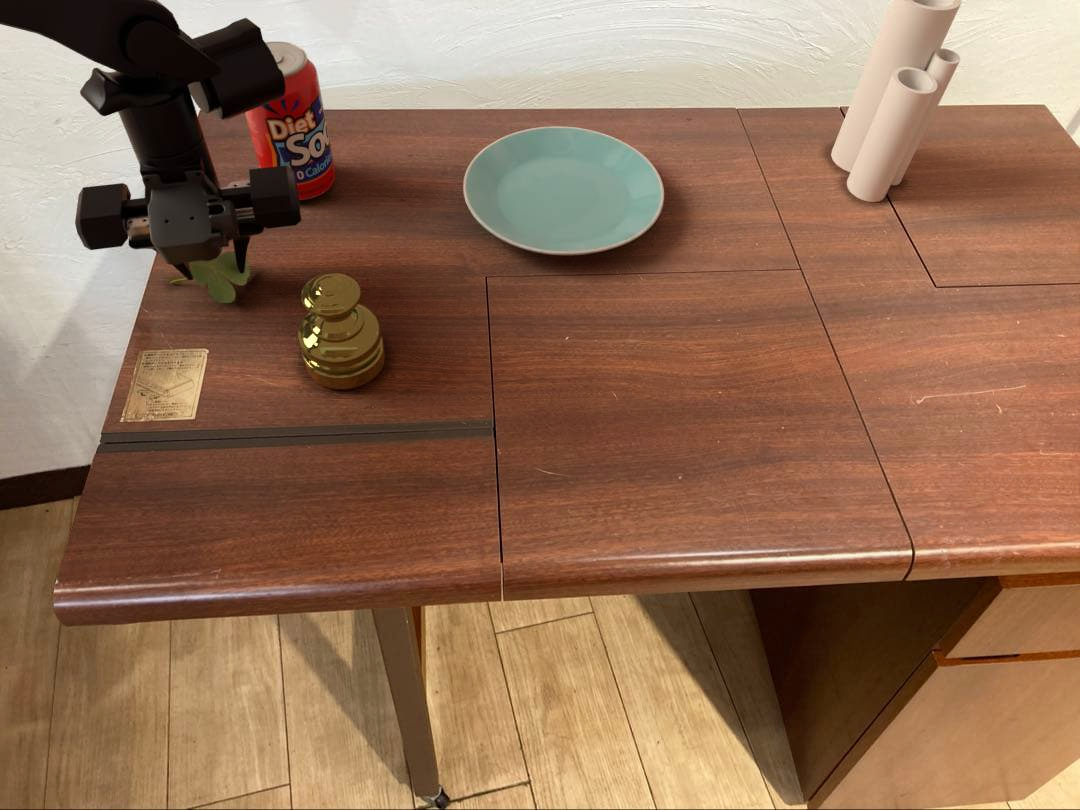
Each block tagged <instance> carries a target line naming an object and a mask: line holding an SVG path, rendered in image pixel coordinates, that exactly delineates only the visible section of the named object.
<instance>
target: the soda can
mask: <svg viewBox="0 0 1080 810" xmlns="http://www.w3.org/2000/svg"><path fill="white" fill-rule="evenodd" d="M264 42H265V43H266V45H267V46H268V47H269V49H270V51H271V53H272V54H273V56H274V58H275V60H276V63H277V65H278V67H279V69H280V70H281V71H282V72H283V76H284V80H285V94H284V96H283V97H282V98H280V99H277V100H275V101H272V102H270V103H267V104H265V105H263V106H260V107H258V108H255V109H253V110H250V111H248V112H245V113H244V114H245V115H244V116H245V119H246V122H247V125H248V130H249V133H250V138H251V141H252V143H253V144H252V145H253V148H254V151H255V155H256V160H257V162H258V163H257V164H258V166H259V168H268V167H277V166H287V167H289V168H290V169H291V170H292V171H294V174H295V178H296V182H297V187H298V195H299V201H306V200H310V199H313V198H316V197H319V196H320V195H323V194H324V193H326V192H327V191H328V190H329V189H330V188H332V186H333V184H334V182H335V181H336V167H335V162H334V156H333V152H332V146H331V140H330V135H329V129H328V123H327V117H326V112H325V107H324V103H323V102H324V101H323V95H322V91H321V86H320V80H319V75H318V70H317V68H316V66H315V64H314V63H313V62H312V61H311V60H310V59H309V58H308V54H307V53H306V51H305V49H303V48H302V47H300V46H299V45H297V44H295V43H291V42H289V41H264Z"/></svg>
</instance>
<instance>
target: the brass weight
mask: <svg viewBox="0 0 1080 810" xmlns="http://www.w3.org/2000/svg"><path fill="white" fill-rule="evenodd" d="M300 296H301V297H300V298H301V299H300V300H301V304H302V305H303V307H304V309H305V310H306V311H308V312H306V314H305V315H304V316H303V317H302V319H301V320H300V322H299V324H298V327H297V329H296V330H297V331H296V339H297V340H296V341H297V343H298V346H299V348H300V349H301V350H300V352H301V353H300V354H301V357H302V360H303V362H304V366H305V368H306V371H307V373H308V375H309V377H310V378H311V379H312V380H313V381H314V382H316V383H317V384H319V385H321V386H323V387H326V388H328V389H333V390H350V389H351V390H352V389H356V388H359V387H361V386H363V385H366V384H368V383H369V382H371V381H372V380H373V379H375V378H376V377H377V376H378V374H380V372H381V371H382V369H383V367H384V364H385V360H386V354H385V347H384V345H385V343H384V342H385V341H384V337H383V334H382V325H381V320H380V319H379V317H378V316H377V314H376V313H375V312H374V311H373V310H372V309H371V308H370V307H368V306H367V305H365V304H362V303H360V301H361V298H362V290H361V287H360V285H359V283H358V282H357V280H356V279H354V278H353V277H351V276H350V275H347V274H346V273H345V274H344V273H340V272H327V273H322V274H319V275H316V276H313V278H311V279H310V280H309V281H307V282H306V283H305V284H304V286H303V287H302V290H301V293H300Z"/></svg>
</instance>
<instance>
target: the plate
mask: <svg viewBox="0 0 1080 810" xmlns="http://www.w3.org/2000/svg"><path fill="white" fill-rule="evenodd" d="M664 187H665V186H664V183H663V180H662V177H661V176H660V174H659V171H658V170H657V168H656V167H655V165H654V164H653V163H652V162H651V161H650V160H649V159H648V158H647V157H646V155H645V154H643V153H642V152H641V151H640V150H638V149H636V148H635V147H634V146H633V145H630V144H628V143H626V142H625V141H623V140H621V139H618V138H616V137H613V136H611V135H609V134H606V133H602V132H601V131H600V132H599V131H596V130H592V129H587V128H582V127H577V126H576V127H575V126H561V125H560V126H559V125H558V126H555V125H554V126H553V125H552V126H551V125H550V126H540V127H539V126H538V127H533V128H528V129H523V130H519V131H516V132H513V133H510V134H507V135H505V136H503V137H501V138H499V139H497V140H495V141H493V142H492V143H490V144H488V145H487V146H485V147H484V148H483V149H481V150H480V151H479V152H478V153H477V154H476V155H475V156H474V157H473V159H472V160H471V162H470V163H469V164H468V166H467V169H466V170H465V173H464V177H463V183H462V192H463V197H464V201H465V204H466V205H467V208H468V210H469V212H470V214H471V216H473V218H474V219H475V220H476V222H477V223H478V224H479V225H480V226H481V227H482V228H483V229H484V230H486V231H487V232H488V233H490V234H491V235H492V236H494V237H495V238H497V239H499V240H500V241H502V242H504V243H506V244H509V245H510V246H513V247H516V248H519V249H522V250H525V251H529V252H532V253H537V254H543V255H549V256H581V255H582V256H583V255H591V254H596V253H601V252H605V251H609V250H613V249H615V248H619V247H621V246H624V245H626V244H629V243H631V242H632V241H634V240H636V239H638V238H639V237H641V236H642V235H644V234H645V233H646V232H647V231H649V230H650V229H651V228H652V227H653V225H654V224H655V223H656V221H657V220H658V218H659V217H660V215H661V213H662V211H663V207H664V203H665V189H664Z"/></svg>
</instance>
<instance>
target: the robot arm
mask: <svg viewBox="0 0 1080 810" xmlns="http://www.w3.org/2000/svg"><path fill="white" fill-rule="evenodd" d="M0 25H2V26H6V27H10V28H14V29H17V30H22V31H25V32H30V33H32V34H33V33H34V34H37V35H40V36H42V37H43V38H47V39H49V40H51V41H53V42H56V43H58V44H60V45H62V46H64V47H65V48H66V49H69V50H71V51H73V52H75V53H76V54H78V55H80V56H82V57H85V58H86V59H88V60H90V61H92V62H95V63H96V64H99V65H102V66H103V67H106V68H109V69H110V70H113V71H109V72H108V71H104V70H102V69H100V68H99V67H94V68H93V69H92V71H91V75H90V77H89V78H88V79H87V80H86V81H85V83H84V84H83V86H82V87H81V88H80V90H79V95H80V97H82V98H83V99H84V100H85V101H86V102H87V103H88V104H89V105H90V106H91V107H92V108H93V109H94V110H95V111H96V112H97V113H98V114H99V115H100V116H102V117H107V116H111V115H113V114H115V113H118V115H119V117H120V120H121V122H122V125H123V127H124V129H125V132H126V135H127V138H128V140H129V142H130V144H131V147H132V149H133V152H134V155H135V157H136V160H137V162H138V164H139V173H140V175H141V181H142V183H143V185H144V197H141V198H132V193H131V191H130V189H129V186H128V184H126V183H124V182H119V183H112V184H102V185H101V184H100V185H91V186H83V187H82V188H81V190H80V191H79V194H78V197H77V205H76V213H75V219H74V224H75V230H76V233H77V235H78V237H79V239H80V241H81V243H82V245H83V247H84V248H86V249H88V250H90V251H95V250H103V249H111V248H121V247H123V246H124V244H125V243H126V242H127V241H128V246H129V248H131V249H133V250H153V251H154V252H156V253H157V254H159V256H160V257H161V259H162V260H163V262H165V264H167V265H170V266H173V267H174V268H175V269H176V270H177V271H178V273H180V274H182V275H183V277H185V278H187V279H188V280H187V281H193V280H194V278H193V275H192V273H191V270H190V265H189V262H193V261H201V260H202V261H210V260H213V259H215V258H217V257H218V256H219V254H220V247H223V248H225V247H226V248H228V247H230V242H231V241H232V243H233V244H232V245H233V252H235V257H236V263H237V267H238V269H239V272H240V273H244V271H245V263H246V259H247V252H248V246H249V243H250V240H251V238H252V237H253V236H259V235H262V233H264V231H265V229H268V230H269V229H276V228H277V229H278V228H285V227H294V226H297V225H298V224H300V223H301V222H302V213H301V206H300V200H299V195H298V187H297V182H296V178H295V174H294V171H292V170H291V169H290V168H289V167H287V166H277V167H268V168H260V167H259V168H258V167H257V168H249V169H248V174H249V175H248V176H249V179H242V180H233V181H231V182H229V183H228V184H227V185H226V186H221V183H220V182H219V178H218V175H217V172H216V169H215V166H214V163H213V160H212V156H211V153H210V150H209V147H208V144H207V141H206V138H205V135H204V132H203V131H204V130H203V127H202V125H201V121H200V119H199V116H198V113H197V110H196V107H195V104H196V105H197V107H198V108H199V109H200V111H202V112H203V113H204V114H210V113H213V114H214V115H215V116H216V117H217V119H219V120H221V121H228V120H230V119H233V118H235V117H238V116H240V115H243V114H245V112H248V111H250V110H253V109H255V108H258V107H260V106H263V105H265V104H267V103H270V102H272V101H275V100H277V99H280V98H282V97H283V96H284V94H285V80H284V76H283V72H282V71H281V70H280V69H279V67H278V65H277V63H276V60H275V58H274V56H273V54H272V53H271V51H270V49H269V47H268V46H267V45H266V43H265V42H266V41H265V40H264V38H263V34H262V30H261V28H260V26H258V25H257V24H255V23H254V22H253V21H252V20H250V19H249V18H248V17H243V18H241V19H238V20H235V21H233V22H231V23H230V24H228V25H227V26H225V27H223V28H220V29H216V30H214V31H211V32H207V33H204V34H203V35H199V36H196V37H193V38H192V37H191V36H190V35H188V33H186V32H185V31H183V30H182V29H181V28H180V26H179V23H178V22H177V20H176V18H175V16H174V13H173V12H172V11H170V10H169V9H168V7H166V6H165V5H164V4H162V3H161V2H160V1H158V0H0ZM194 103H195V104H194ZM220 255H221V254H220Z"/></svg>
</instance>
